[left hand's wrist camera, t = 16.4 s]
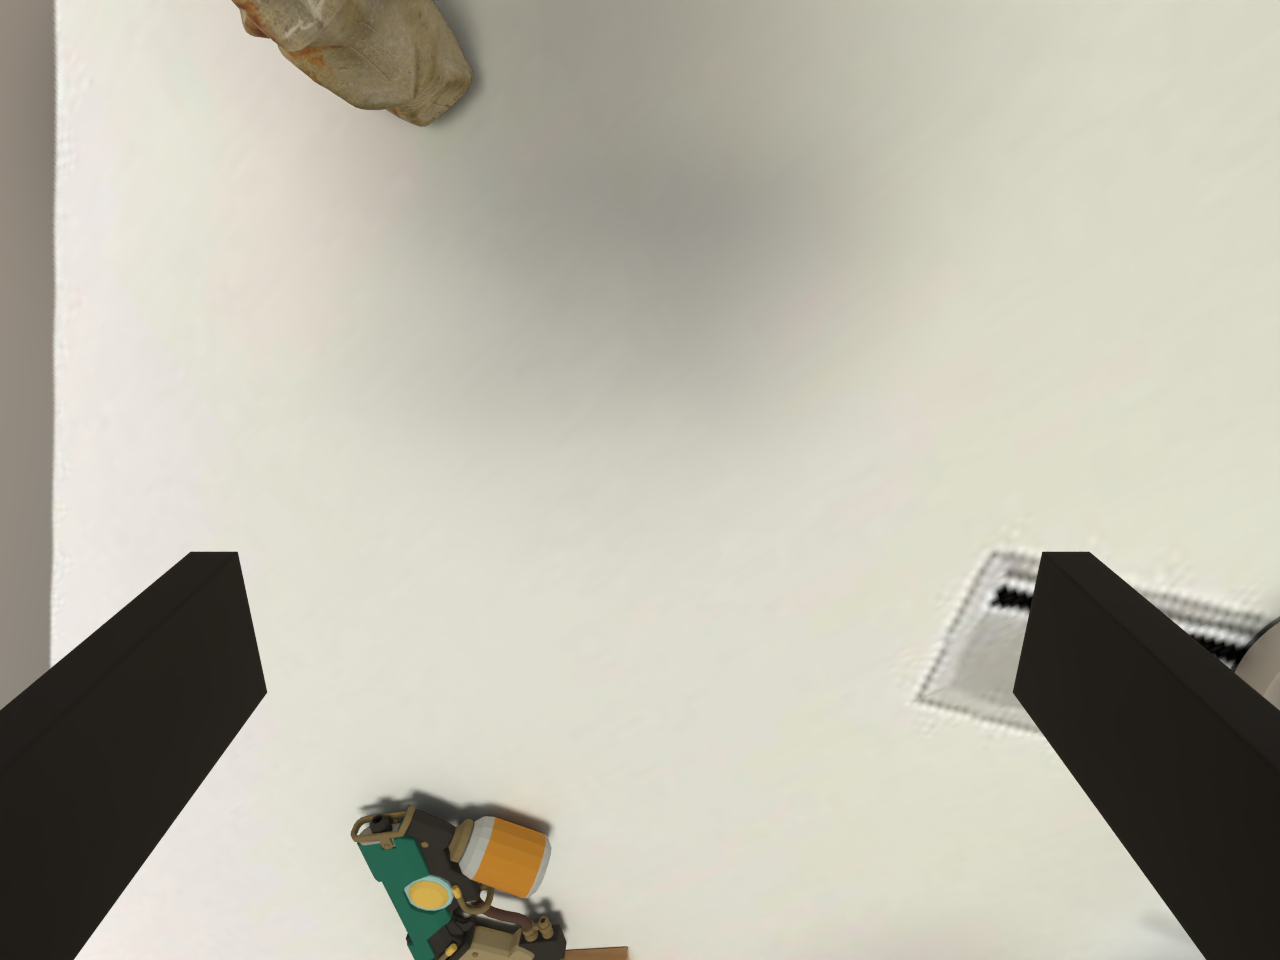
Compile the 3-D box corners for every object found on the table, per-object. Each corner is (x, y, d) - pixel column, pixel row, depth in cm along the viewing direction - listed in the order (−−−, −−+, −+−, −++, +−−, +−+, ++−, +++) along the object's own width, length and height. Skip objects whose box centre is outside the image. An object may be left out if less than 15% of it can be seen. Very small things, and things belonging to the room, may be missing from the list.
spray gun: (567, 954, 61) (379, 938, 62) (574, 800, 54) (361, 783, 55) (560, 1010, 58) (359, 993, 58) (566, 852, 51) (337, 833, 51)
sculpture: (408, -64, 36) (262, -216, 22) (504, 78, 38) (427, 22, 24) (316, 18, 37) (123, -78, 23) (414, 151, 39) (291, 137, 26)
